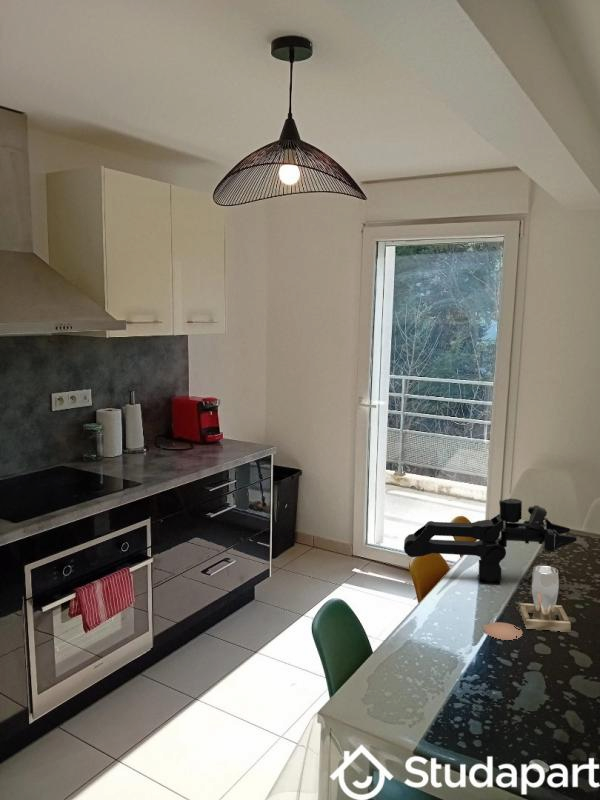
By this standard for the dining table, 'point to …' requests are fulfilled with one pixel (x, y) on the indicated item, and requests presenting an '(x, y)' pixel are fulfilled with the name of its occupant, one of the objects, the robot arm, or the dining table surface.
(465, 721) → the dining table surface
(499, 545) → the robot arm
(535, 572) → the beer glass
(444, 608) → the dining table surface
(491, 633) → the mat
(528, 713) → the dining table surface
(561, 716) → the dining table surface
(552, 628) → the pocket frame
